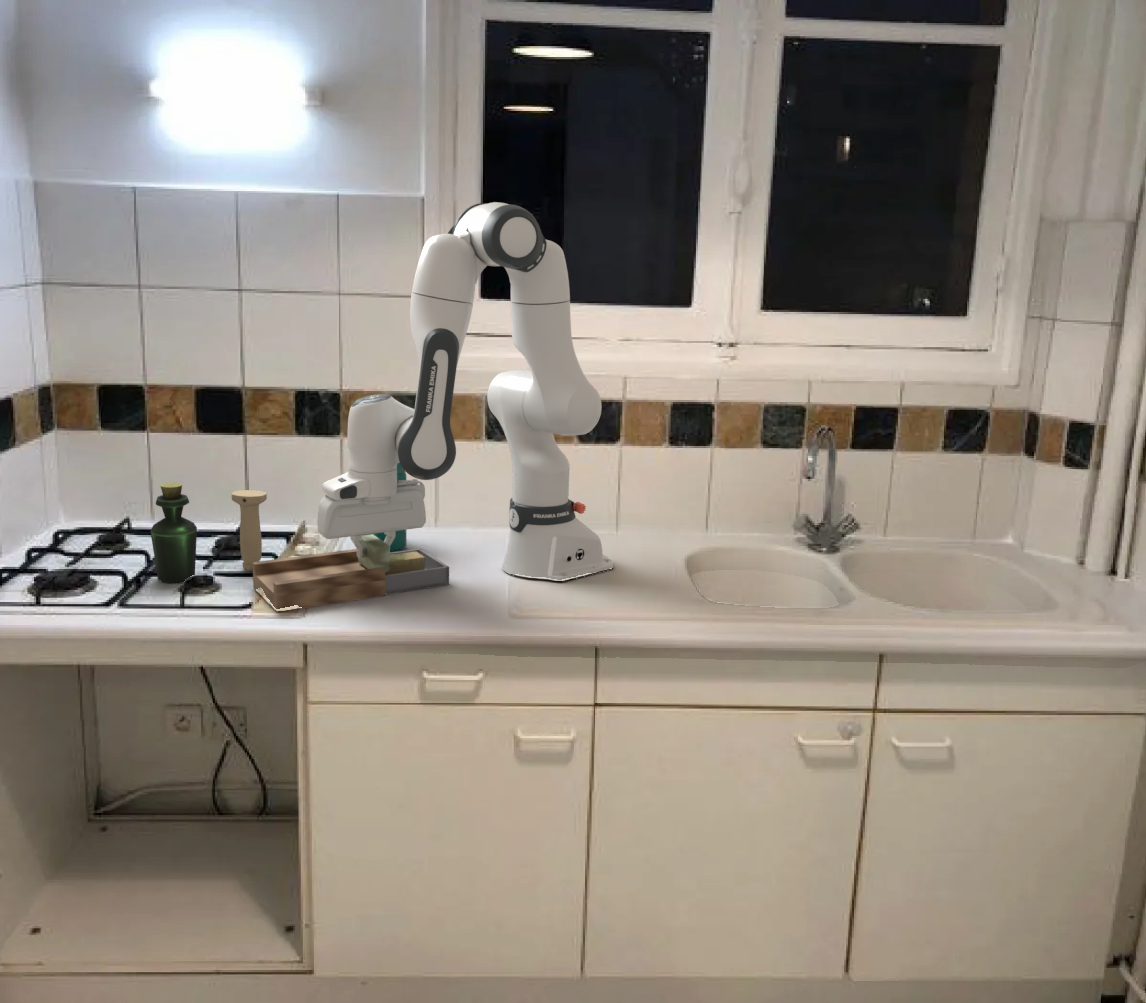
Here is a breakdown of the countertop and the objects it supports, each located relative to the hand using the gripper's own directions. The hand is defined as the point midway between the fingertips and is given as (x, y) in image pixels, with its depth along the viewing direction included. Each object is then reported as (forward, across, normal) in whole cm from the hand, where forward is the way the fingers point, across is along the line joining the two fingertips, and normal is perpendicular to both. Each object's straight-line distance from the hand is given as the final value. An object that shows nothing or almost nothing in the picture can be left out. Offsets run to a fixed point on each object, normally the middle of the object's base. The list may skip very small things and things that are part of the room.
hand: (373, 555), depth 203 cm
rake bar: (+2, 0, 0) cm, 2 cm away
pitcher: (+6, -10, -20) cm, 24 cm away
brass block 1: (+5, -4, 0) cm, 6 cm away
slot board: (+6, +10, 0) cm, 12 cm away
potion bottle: (+6, +32, -18) cm, 37 cm away
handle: (+6, +18, -18) cm, 26 cm away
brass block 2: (+3, -6, 0) cm, 6 cm away
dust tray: (+6, -6, 0) cm, 8 cm away
